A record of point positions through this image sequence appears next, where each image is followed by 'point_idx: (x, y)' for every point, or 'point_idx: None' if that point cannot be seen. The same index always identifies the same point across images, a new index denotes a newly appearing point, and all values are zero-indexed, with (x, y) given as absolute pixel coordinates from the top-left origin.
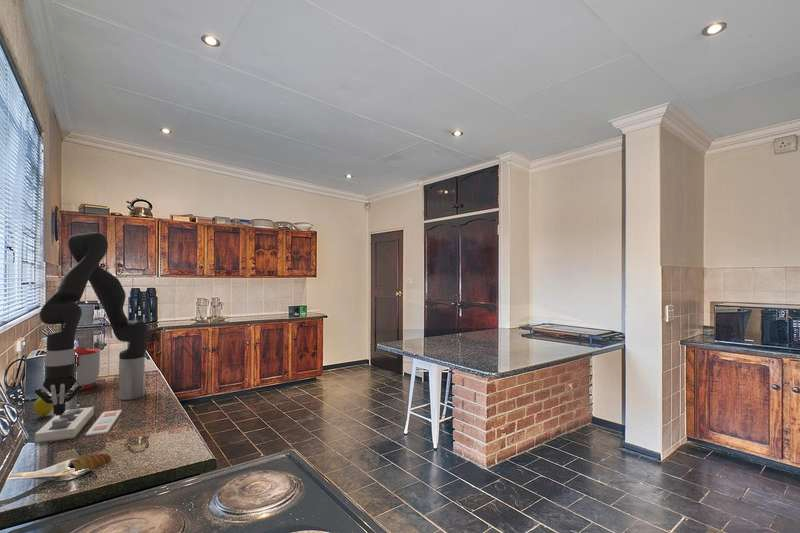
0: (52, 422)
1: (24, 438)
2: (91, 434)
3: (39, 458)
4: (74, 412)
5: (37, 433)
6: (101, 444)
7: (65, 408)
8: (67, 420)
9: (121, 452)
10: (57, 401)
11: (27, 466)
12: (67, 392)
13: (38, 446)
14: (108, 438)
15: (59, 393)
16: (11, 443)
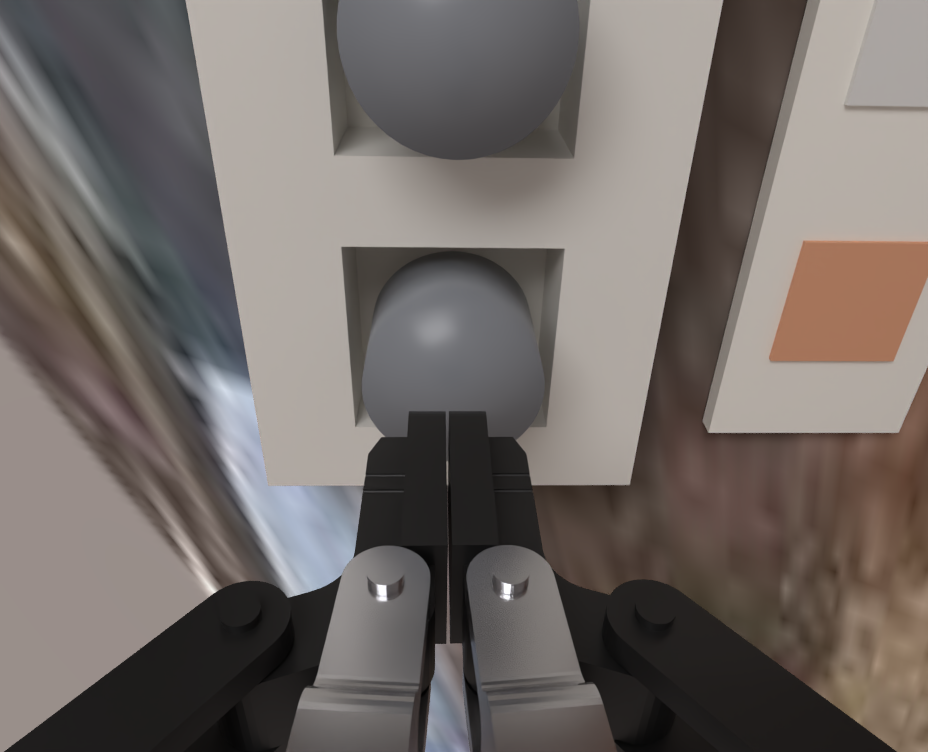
0: (380, 428)
1: (81, 223)
2: (756, 428)
3: (456, 682)
4: (579, 23)
5: (290, 483)
6: (813, 619)
7: (529, 477)
8: (542, 383)
9: (902, 748)
10: (428, 696)
11: (429, 746)
12: (606, 722)
13: (356, 497)
14: (874, 536)
15: (410, 748)
16: (36, 330)
